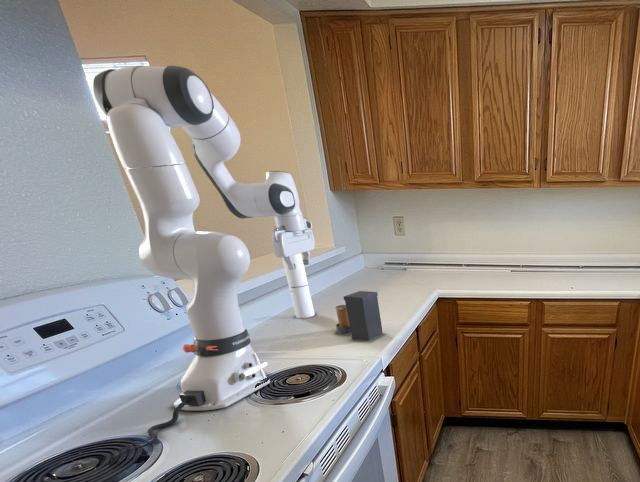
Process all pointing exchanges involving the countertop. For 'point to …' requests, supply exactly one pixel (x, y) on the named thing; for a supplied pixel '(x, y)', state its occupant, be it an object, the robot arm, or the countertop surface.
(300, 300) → the cylindrical container
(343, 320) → the brown wooden cylinder
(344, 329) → the brew holder
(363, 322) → the dark grey tall block
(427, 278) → the countertop surface
